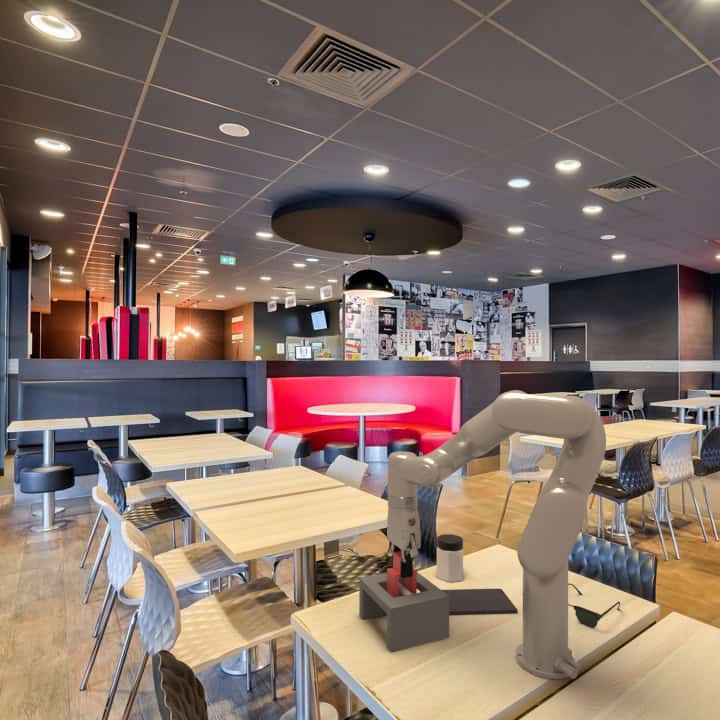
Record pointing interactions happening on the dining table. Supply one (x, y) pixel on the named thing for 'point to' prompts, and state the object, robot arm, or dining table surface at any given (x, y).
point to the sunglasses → (588, 614)
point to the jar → (450, 558)
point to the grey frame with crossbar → (406, 611)
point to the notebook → (479, 602)
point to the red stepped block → (399, 577)
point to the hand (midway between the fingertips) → (402, 572)
